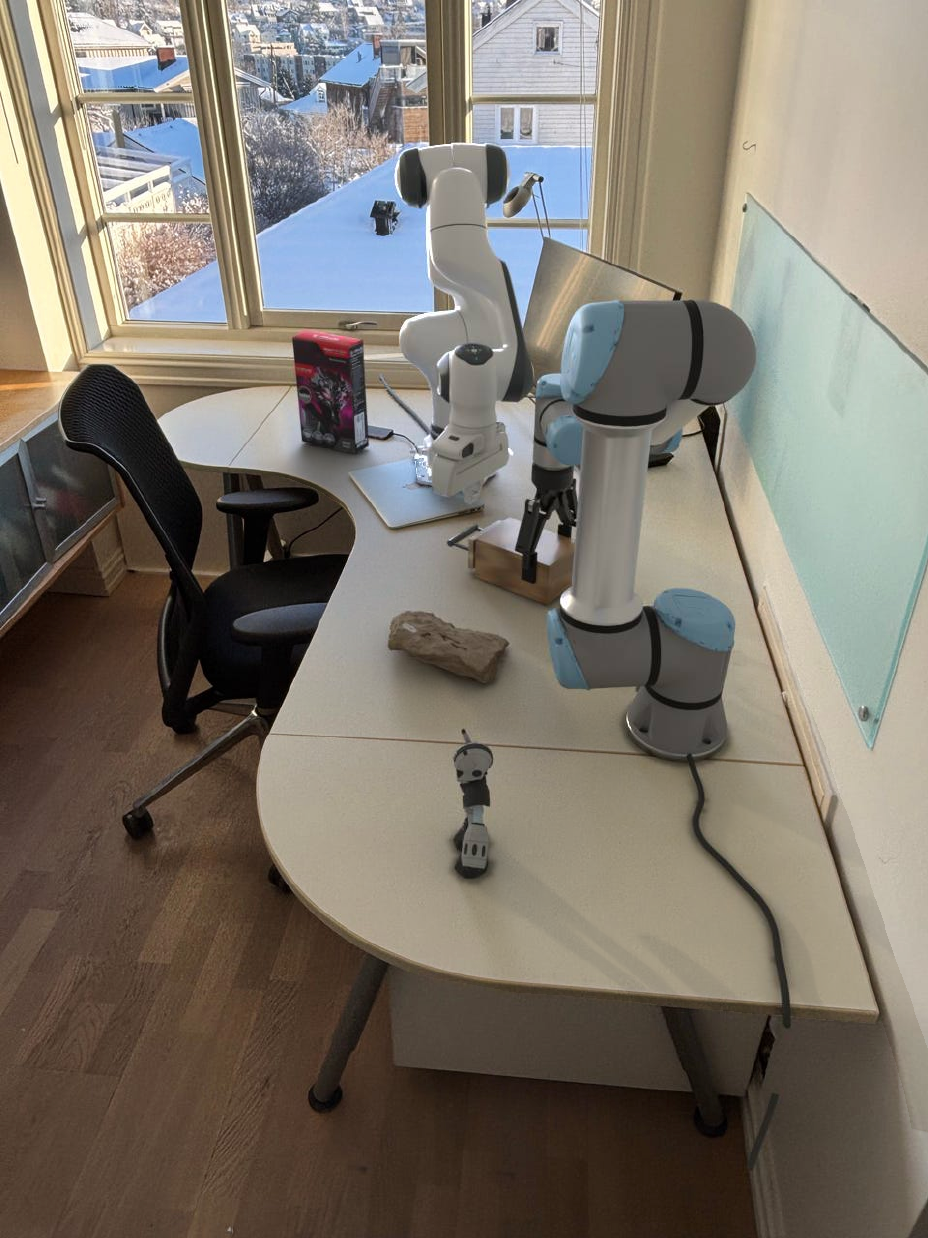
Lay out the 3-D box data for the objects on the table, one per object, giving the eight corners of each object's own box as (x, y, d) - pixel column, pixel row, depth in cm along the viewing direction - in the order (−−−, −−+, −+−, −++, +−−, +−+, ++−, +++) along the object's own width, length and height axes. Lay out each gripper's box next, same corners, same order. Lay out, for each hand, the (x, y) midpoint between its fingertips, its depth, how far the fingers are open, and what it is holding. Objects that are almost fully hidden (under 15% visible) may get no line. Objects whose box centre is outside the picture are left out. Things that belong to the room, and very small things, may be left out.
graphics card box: (299, 442, 234) (289, 335, 219) (315, 433, 239) (306, 328, 224) (356, 456, 228) (349, 346, 213) (371, 446, 233) (365, 338, 218)
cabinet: (474, 576, 181) (475, 538, 176) (507, 554, 188) (509, 516, 184) (546, 605, 172) (549, 565, 168) (578, 580, 180) (581, 542, 175)
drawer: (445, 558, 185) (444, 529, 181) (474, 539, 191) (475, 511, 188) (533, 593, 174) (534, 563, 170) (561, 571, 181) (563, 542, 177)
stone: (364, 657, 153) (371, 625, 150) (394, 627, 166) (401, 597, 164) (483, 699, 149) (492, 667, 147) (504, 665, 163) (513, 635, 160)
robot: (495, 914, 114) (500, 797, 103) (456, 915, 114) (456, 798, 103) (484, 799, 130) (487, 688, 119) (450, 801, 130) (450, 689, 119)
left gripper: (491, 413, 181) (489, 478, 189) (425, 446, 167) (426, 514, 175) (518, 421, 178) (515, 486, 186) (453, 455, 164) (453, 524, 172)
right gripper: (570, 436, 174) (562, 538, 186) (497, 479, 158) (494, 587, 170) (604, 446, 170) (594, 550, 182) (534, 491, 154) (527, 601, 166)
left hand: (471, 500), depth 180 cm, fingers closed
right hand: (545, 568), depth 176 cm, fingers closed on cabinet, 11 cm apart
